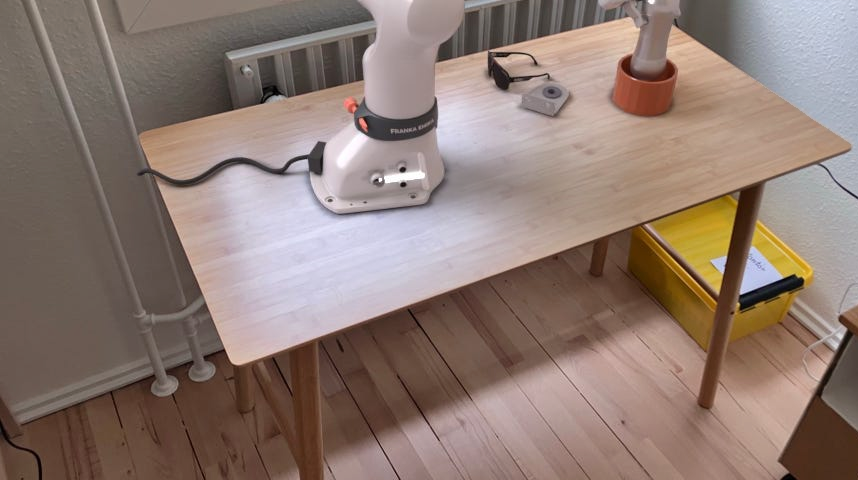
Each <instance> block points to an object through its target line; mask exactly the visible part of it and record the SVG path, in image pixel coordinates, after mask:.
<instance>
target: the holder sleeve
mask: <svg viewBox="0 0 858 480" xmlns="http://www.w3.org/2000/svg"><path fill="white" fill-rule="evenodd" d="M632 56H633V53H628V54H626V55H624V56H622V57H621V58H620V59H619V60H618V63H617V69H616V74H615V81H614V85H613V91H612V100H613V102H614V104H615V105H616V106H617V107H618V108H619V109H621V110H623V111H624V112H626V113H629V114H632V115H636V116H642V117H643V116H645V117H651V116H658V115H661V114H664V113H665V112H667V111H668V110H669V109H670V107H671V106H672V105H671V104H672V102H673V97H674V93H675V88H676V84H677V79H678V75H679V68H678V67H677V65H676V64H675V62H673V61H672V60H670V59H669V58H668V57H666V68H665V70H664V73H663V75H662V76H661V77H659V78H658V79H657V80H654V81H643V80H639V79H637V78H635V77H634V76H633V74H632V73H631V70H630V62H631V59H632Z"/></svg>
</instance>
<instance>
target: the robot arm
mask: <svg viewBox="0 0 858 480" xmlns="http://www.w3.org/2000/svg"><path fill="white" fill-rule="evenodd" d="M355 1H356V2H357V3H359V4H360V5H361V6H362V7H363V8H365V9H366V10H367V11H368V12H369V13H370V14H371V17H372V19H373V21H374V23H375V27H376V32H375V33H376V35H375V39H374V42H373V43H372V44H370V46H369V45H368V47H367V48H366V50H365V51H364V53H363V56H362V59H361V63H362V72H363V73H362V76H363V77H362V78H363V87H364V88H363V89H364V91H363V92H364V96H363V98H362V101H361V102H360V104H359V103H358V101H357V99H356V98H354V97H347V98H346V99H345V101H344V102H343V105H344V108H346V110H347V113H349V114H352V115H353V120H352V121H351V122H350V123H348V124H347V125H346V126H345V127H343V128H342V129H341V130H340V131H338V132H337V133H336V134H335V135H333V136H332V137H330V138H329V139H328V140H327V142H326V141H321V140H317V142H316V144H315V145H314V147H313V148H312V149H311V151H310V152H309V153H307V154H301V155H297V156H294V157H292V158H290V159H288V160H287V161H286V163H285V164H284V165H283V166H282V167H280V168H271V167H268V166H266V165H264V164H262V163H260V162H258V161H256V160H255V159H252V158H249V157H244V156H238V157H237V156H236V157H230V158H227V159H224V160H222V161H220V162H218V163H216V164H214V165H213V166H212V167H210V168H209V169H207V170H206V171H204V172H202V173H201V174H198V175H197V176H195V177H192V178H188V179H175V178H172V177H169V176H167V175H165V174H163V173H161V172H159V171H158V170H156V169H154V168H149V167H147V168H143V169H140V170H139V171H138V172H137V173H136V176H138V177H140V176H143V175H145V174H151V175H154V176H155V177H157V178H159V179H161V180H163V181H165V182H166V183H167V182H168V183H170V184H173V185H177V186H183V185H184V186H185V185H191V184H194V183H197V182H199V181H202V180H203V179H206V178H207V177H209V176H210V175H211V174H213V173H214V172H216V171H217V170H219V169H220V168H222V167H224V166H226V165H229V164H232V163H247V164H249V165H253V166H255V167H256V168H258V169H260V170H262V171H264V172H267V173H270V174H276V175H277V174H283V173H285V172H286V171H287V170H288V169H289V168H290V167H291V165H293V164H294V163H296V162H299V161H303V160H305V161H306V160H307V164H308V172H309V176H310V177H309V179H310V185H311V188H312V191H313V192H314V195H315V196H316V199H318V201H319V202H320V203H321V204H322V206H323V207H325V208H326V209H327V210H329V211H331V212H333V213H334V214H338V215H339V214H340V215H341V214H351V213H359V212H368V211H376V210H385V209H394V208H395V209H396V208H403V207H411V206H421V205H425V204H426V203H427V202H428V201H429V199H430V197H431V194H432V192H433V191H434V190H435V188H437V187H438V186H439V185H440V184H441V183H442V181H443V180H444V177H445V166H444V163H443V160H442V157H441V153H440V149H439V145H438V144H439V143H438V137H437V128H438V125H439V124H438V121H439V105H438V98H437V96H436V62H437V57H438V53H439V49H440V46H441V44H443V43H445V42H447V41H448V40H450V38H452V37H453V35H455V34H456V32H457V30H458V29H459V28H460V26H461V24H462V21H463V19H464V17H465V12H466V11H465V10H466V1H465V0H355ZM597 2H598V5H599V7H600V8H602V9H603V10H604V11H607V10H613V9H616V8H621V7H622V8H623V10H624V12H625V14H627V16H628V17H630V18H631V20H633V23H634V27H635V28H636V29H640V27H644V26H645V25H647V24H648V22H647V20H646V16H645V14H644V15H641V12H640V11H639V10H638V8H637V6H638V4H637V3H642V0H597ZM680 3H681V0H679V4H680ZM681 15H682V13H681V9H680V6H679V7H678V11H677V13H676V16H675V19H678V18H679V17H681Z"/></svg>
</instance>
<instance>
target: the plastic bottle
mask: <svg viewBox="0 0 858 480" xmlns="http://www.w3.org/2000/svg"><path fill="white" fill-rule="evenodd" d="M678 7H679V8H680V3H679V0H642V1H641V12H640V14H641V15H644V14H645V16H646V20H647V22H648V24H647V25H645V26H644V27H640V28H639V33H638V38H637V42H636V45H635V49H634V51H633V53H632V54H633V56H632V59H631V62H630V70H631V73H632V74H633V76H634V77H635V78H637V79H639V80H643V81H654V80H657V79H658V78H659V77H661V76H662V75H663V73H664V70H665V68H666V58H667V50H668V42H669V39H670V33H671V30H672V27H673V24H674V21H675V19H676V18H675V16H676V13H677V11H678Z"/></svg>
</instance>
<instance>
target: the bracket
mask: <svg viewBox="0 0 858 480" xmlns="http://www.w3.org/2000/svg"><path fill="white" fill-rule="evenodd" d="M569 95H570V93H569V90H568V89H567V87H565V86H564V85H562V84H560V83H555V82H546V83H542V84H540V85H538V86H537V87H536V88H535V89H534V91H533V92H532V93H531V94H530V93H527V92H522V93H521V107H524V109H528V110H531V111H533V112H538V113H540V114H544V115H547V116H553V117H554V116H556V114H557V113H558V112H559V111H560V109H561V108H562V107H563V105H564V104H565V103H566V101H567V100H568V99H569ZM526 98H527V99H526Z"/></svg>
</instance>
